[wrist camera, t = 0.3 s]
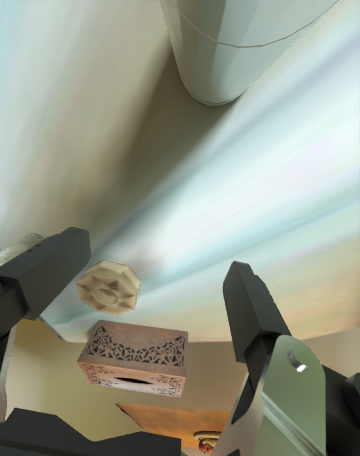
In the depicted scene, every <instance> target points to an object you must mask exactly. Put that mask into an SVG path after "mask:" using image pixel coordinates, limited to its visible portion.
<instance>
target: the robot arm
mask: <svg viewBox="0 0 360 456" xmlns="http://www.w3.org/2000/svg"><path fill="white" fill-rule="evenodd" d="M160 1H161V5H162V9H163V13H164V17H165V21H166V25H167V29H168V32H169V36H170V40H171V44H172V48H173V52H174V56H175V60H176V64H177V68H178V72H179V75H180V78H181V80H182V83H183V85H184V86H185V88H186V90H187V91H188V93H189V94H190V95H191V96H192V97H193V98H194V99H195V100H197V101H198V102H200V103H202V104H205V105H208V106H220V105H224V104H227V103H229V102H232V101H233V100H235V99H236V98H237V97H239V96H240V95H241V94H242V93H243V92H244V91H245V90H246V89H247V88H248V87H250V86H251V85H252V84H253V83H254V82H255V81H256V80H257V79H258V78H259V77H260V76H261V75H262V74H263V73H264V72H265V71H266V70H267V69H268V68H269V67H270V66H271V65H273V64H274V63H275V62H276V61H277V60H278V59H279V58H280V57H281V56H282V55H283V54H284V53H285V52H286V51H287V50H288V49H289V48H290V47H291V46H292V45H293V44H294V43H295V42H296V41H297V40H298V39H299V38H300V37H301V36H302V35H303V34H305V33H306V32H307V31H308V30H309V29H310V28H311V27H312V26H313V25H314V24H315V23H316V22H317V21H318V20H319V19H320V18H321V17H322V16H323V15H324V14H325V13H326V12H327V11H328V10H329V9H330V8H331V7H332V6H333V5H334V4H335V3H336V2H338V1H339V0H160ZM90 255H91V251H90V240H89V232H88V231H87V230H85V229H80V228H75V227H70V228H68V229H66V230H65V231H63V232H62V233H60V234H57V235H54V236H51V237H48V238H45V239H44V240H42V241H41V242H39V243H37V244H36V246H32V247H31V248H29V249H28V250H27V251H24V252H23V253H21V254H19V255H18V256H16V257H14V258H13V259H11V260H10V261H8V262H6V263H5V264H3V265H1V266H0V456H187V455H186V454H185V453H183V452H182V451H181V439H179V438H174V437H169V436H163V435H158V434H153V433H147V432H141V431H140V432H136V433H132V434H127V435H123V436H118V437H114V438H110V439H105V440H101V441H95V442H94V441H90V440H88V439H87V438H85V437H84V436H83V435H82V434H80V433H79V432H78V431H76V430H75V429H74V428H72V427H71V426H70V425H68V424H67V423H66V422H64V421H63V420H62V419H60V418H59V417H58V416H56V415H51V414H47V413H41V412H35V411H31V410H25V409H19V408H14V410H13V411H12V413H11V414H10V415H9V417H8V418H7V420H6V421H5V416H6V409H7V396H6V391H5V382H6V376H7V371H8V367H9V362H10V357H11V352H12V347H13V342H14V338H15V333H16V324H17V322H18V321H20V320H21V319H22V318H24V319H29V320H35V319H36V318H37V317H38V316H39V315H40V314H41V313H42V312H43V311H44V310H45V309H46V308H47V306H48V305H49V304H50V303H51V302H52V301H53V300H54V299H55V298H56V297H57V296H58V295H59V293H60V292H61V291H62V290H63V289H64V288H65V287H66V286H67V285H68V284H69V283H70V282H71V280H72V279H73V278H74V277H75V276H76V275H77V274H78V273H79V272H80V271H81V270H82V269H83V267H84V266H85V265H86V264H87V263H88V261H89V259H90ZM223 295H224V300H225V305H226V311H227V316H228V321H229V326H230V331H231V336H232V341H233V346H234V351H235V356H236V361H237V362H241V363H246V364H247V368H248V373H247V374H246V376H245V379H244V381H243V384H242V386H241V389H240V391H239V394H238V396H237V399H236V402H235V404H234V407H233V409H232V412H231V414H230V417H229V419H228V422H227V424H226V426H225V428H224V430H223V432H222V433H221V435H220V437H219V438H218V440H217V442H216V444H215V446H214V448H213V451H212V453H211V455H210V456H360V373H356V374H355V375H353V376H351V377H350V378H347V377H345V376H343V375H341V374H339V373H337V372H335V371H333V370H332V369H330V368H327V367H326V366H324V365H322V364H321V363H320V361H319V360H318V359H317V357H316V356H315V355H314V353H313V352H312V351H311V350H310V349H309V348H308V347H307V346H306V345H305V344H303V343H302V342H301V341H299V340H298V339H296V338H294V337H292V335H291V333H290V331H289V329H288V327H287V325H286V323H285V321H284V320H283V318H282V316H281V314H280V312H279V310H278V308H277V306H276V304H275V303H274V300H273V298H272V296H271V295H270V292H269V290H268V289H267V287H266V285H265V283H264V282H263V281H262V280H261V279H260V278H259V277H258V276H257V275H254V273H253V271H252V269H251V267H250V265H249V264H246V263H242V262H237V261H234V262H233V263H232V264H231V267H230V269H229V271H228V273H227V275H226V278H225V280H224V283H223Z"/></svg>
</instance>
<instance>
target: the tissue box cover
mask: <svg viewBox="0 0 360 456" xmlns="http://www.w3.org/2000/svg"><path fill="white" fill-rule="evenodd" d="M187 346H188V332H185V331H178V330H171V329H163V328H156V327H148V326H141V325H133V324H126V323H119V322H111V321H104V320H99V321H98V323H97V325H96V327H95V329H94V330H93V332H92V334H91V336H90V338H89V340H88V342H87V344H86V345H85V347H84V349H83V351H82V353H81V355H80V357H79V359H78V360H77V362H78V363H79V365H80V367H81V369H82V371H83V372H84V374H85V376H86V378H87V379H88V381H89V383H90V384H94V385H100V386H107V387H114V388H120V389H126V390H133V391H139V392H146V393H153V394H160V395H165V396H172V397H179V398H181V397H182V393H183V389H184V384H185V380H186V369H187V368H186V367H187Z"/></svg>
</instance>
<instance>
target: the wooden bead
mask: <svg viewBox="0 0 360 456" xmlns="http://www.w3.org/2000/svg"><path fill="white" fill-rule="evenodd" d="M140 285H141V279H139V278H138V277H137V276H136V275H135V274H134V273H133V272H132V271H131V270H130V269H129V268H128V267H127V266H126V265H121V264H117V263H112V262H107V261H102V262H100V263H98V264H96V265H95V266H93V267H91V268H89V269H88V270H87V271H86V272H85V274H84V275H83V276H82V277H81V279H80V280H79V281H78V282H77V288H78V293H79V297H80V299H81V300H82V301H84V302H85V303H86V304H88V305H89V306H90V307H92V308H93V309H95V310H96V311H98V312H103V313H108V314H113V315H121V314H124V313H126V312H129V311H132V310H134V308H135V305H136V303H137V300H138V297H139V294H140Z"/></svg>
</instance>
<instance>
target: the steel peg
mask: <svg viewBox="0 0 360 456" xmlns="http://www.w3.org/2000/svg"><path fill="white" fill-rule="evenodd" d="M42 240H44V238H43V237H42V236H40V235H38V234H36V233H32V234H30V235H28V236H26V237H25V238H23V239H21V240H19V241H18V242H16V243H14V244H12V245H11V246H9V247H7V248H6V249H4V250H2V251H0V266H1V265H3V264H5V263H6V262H8V261H10V260H11V259H13V258H14V257H16V256H18V255H19V254H21V253H23V252H24V251H27V250H28V249H29V248H31V247H32V246H36V244H37V243H39V242H41V241H42Z"/></svg>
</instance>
